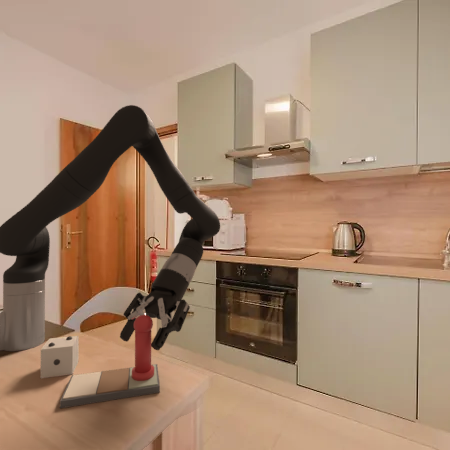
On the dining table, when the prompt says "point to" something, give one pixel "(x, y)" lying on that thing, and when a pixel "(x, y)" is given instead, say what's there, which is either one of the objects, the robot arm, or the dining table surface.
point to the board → (107, 387)
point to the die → (59, 356)
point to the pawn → (143, 349)
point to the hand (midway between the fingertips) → (138, 343)
